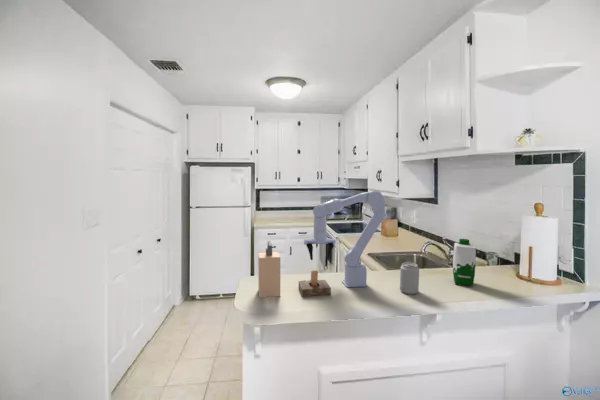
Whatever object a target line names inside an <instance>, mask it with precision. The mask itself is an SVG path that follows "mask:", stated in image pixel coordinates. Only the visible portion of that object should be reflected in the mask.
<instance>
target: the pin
mask: <svg viewBox="0 0 600 400" xmlns="http://www.w3.org/2000/svg"><path fill="white" fill-rule="evenodd" d="M318 273H319V272H318V271H317V270H311V271H310V280H311V286H318V280H319V278H318V277H319V276H318V275H319V274H318Z"/></svg>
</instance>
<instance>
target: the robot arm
mask: <svg viewBox="0 0 600 400" xmlns="http://www.w3.org/2000/svg"><path fill="white" fill-rule="evenodd" d="M358 203H364V204H367V203H369V205H370V207H371V210H372V212H373V214H372V216H371V217H370V219H369V221H368V222H367V224H366V226H365V228H364V229H363V230H362V232H361V233H360V235H359V237H358V238H357V239H356V242H355V243H354V245H353V247H351V248H349V249H348V250H347V252H346V255H345V257H344V262H345V263H344V279H342V280H341V282H342V284H343V285H344V286H345V287H346V288H357V287H358V288H361V287H367V286H368V285H367V277H368V276H367V273H368V272H367V267H366V265H365V264H363V263H361V262H360V260H361V256H362V254H363V252H364V250H365V249H366V247H367V246H368V244H369V242H370V241H371V239H372V237H373V236H374V235H375V233H376V231H377V230H378V228H379V226H380V225H381V223H382V221H383V220H384V218H385V217H386V206H385V198H384V197H383V195H382V192H380V191H378V190H372V191H366V192H361V193H358V194H356V195H355V194H354V195H353V196H350V197H347V198H344V199H340V198H336V197H335V198H331V200H329V201H326V202H325V201H323V202H322V203H320V204H317V205H316V206H314V207H313V210H312V214H313V215H314V216H313V219H314V220H313V238H310V239H309V238H308V239H304V240H303V244H304V245H306V248H307V251H308V253H309V259H310V260H311V261H313V260H314V258H313V256H314V254H313V251H314V250H313V249H314V247H313V245H326V256H325V257H326V260H327V261H328V260H330V256H331V253H332V250H333V248H334V245H336V242H337V241H336V239H335V238H327V215H332V214H334V213H338V212H341V211H343V209H344V207H347V206H351V205H353V204H358Z"/></svg>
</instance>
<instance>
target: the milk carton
mask: <svg viewBox="0 0 600 400" xmlns="http://www.w3.org/2000/svg"><path fill="white" fill-rule="evenodd" d="M476 248H477V247H476V246H475V245H474V244H473V243H470V239H468V238H459V241H458V242H454V244H453V259H452V260H453V261H452V275H453V282H454V284H455V285H457V286H462V285H465V286H464V287H470V286H473V287H474V281H475V276H476V255H477V250H476Z"/></svg>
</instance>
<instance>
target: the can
mask: <svg viewBox="0 0 600 400" xmlns="http://www.w3.org/2000/svg"><path fill="white" fill-rule="evenodd" d="M418 266H419V265H418V264H416V263H414V262H403V263H401V266H400V268H399V269H400V270H399V271H400V272H399V274H400V275H399V290H400V291H401V293H403V294H406V295H416V294H417V293H419V291H420V289H419V285H420V284H419V283H420V267H418Z"/></svg>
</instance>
